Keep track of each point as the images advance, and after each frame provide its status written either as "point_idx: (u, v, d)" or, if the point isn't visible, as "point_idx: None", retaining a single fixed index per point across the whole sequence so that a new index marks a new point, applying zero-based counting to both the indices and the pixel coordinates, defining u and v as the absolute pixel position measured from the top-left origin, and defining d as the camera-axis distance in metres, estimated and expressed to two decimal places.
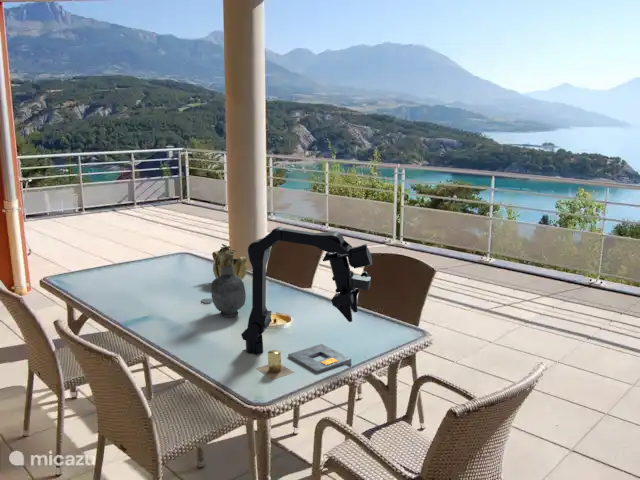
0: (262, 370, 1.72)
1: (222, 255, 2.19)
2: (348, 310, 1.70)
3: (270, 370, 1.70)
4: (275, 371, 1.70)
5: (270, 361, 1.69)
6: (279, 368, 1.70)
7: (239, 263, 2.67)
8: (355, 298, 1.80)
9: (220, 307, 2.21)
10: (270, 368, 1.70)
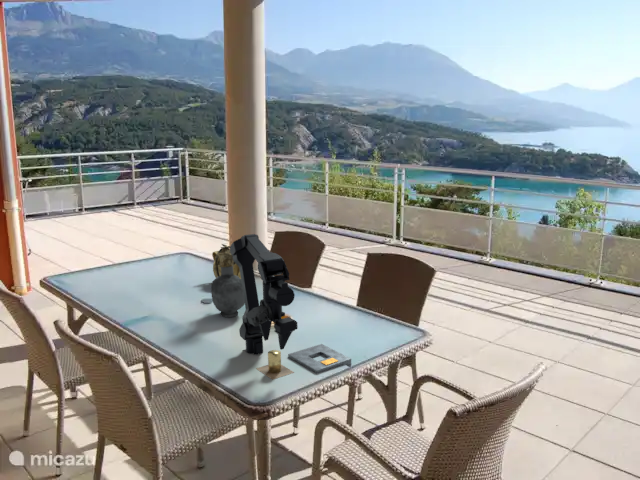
0: (262, 370, 1.72)
1: (222, 255, 2.19)
2: None
3: (270, 370, 1.70)
4: (275, 371, 1.70)
5: (270, 361, 1.69)
6: (279, 368, 1.70)
7: None
8: None
9: (220, 307, 2.21)
10: (270, 368, 1.70)
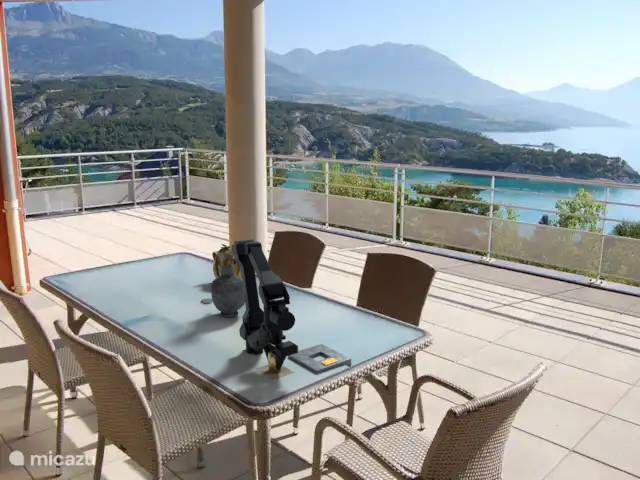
0: (262, 370, 1.72)
1: (222, 255, 2.19)
2: None
3: (270, 370, 1.70)
4: (275, 371, 1.70)
5: (270, 361, 1.69)
6: None
7: None
8: None
9: (220, 307, 2.21)
10: (270, 368, 1.70)
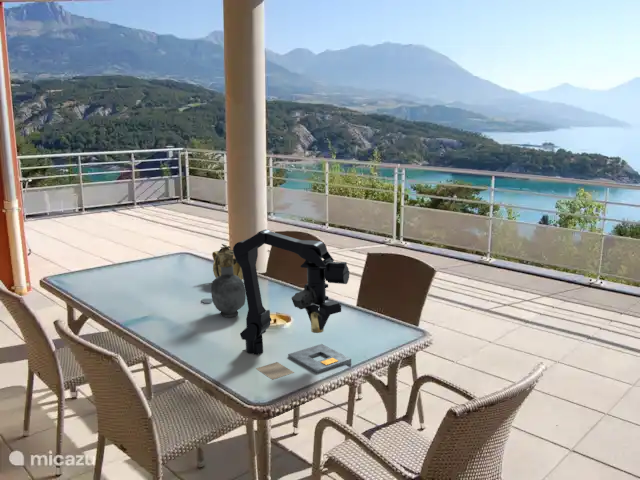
0: (262, 370, 1.72)
1: (222, 255, 2.19)
2: None
3: (313, 330, 1.75)
4: (318, 331, 1.75)
5: (313, 321, 1.75)
6: None
7: None
8: None
9: (220, 307, 2.21)
10: (313, 328, 1.75)
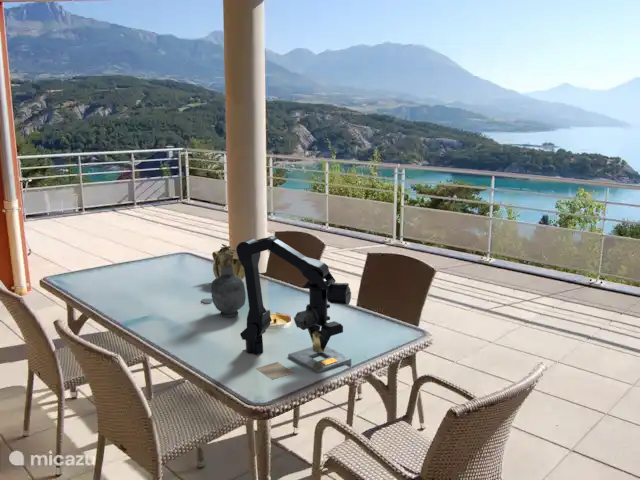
0: (262, 370, 1.72)
1: (222, 255, 2.19)
2: None
3: (315, 349, 1.77)
4: (319, 350, 1.77)
5: (315, 341, 1.76)
6: None
7: (239, 263, 2.67)
8: None
9: (220, 307, 2.21)
10: (315, 348, 1.77)
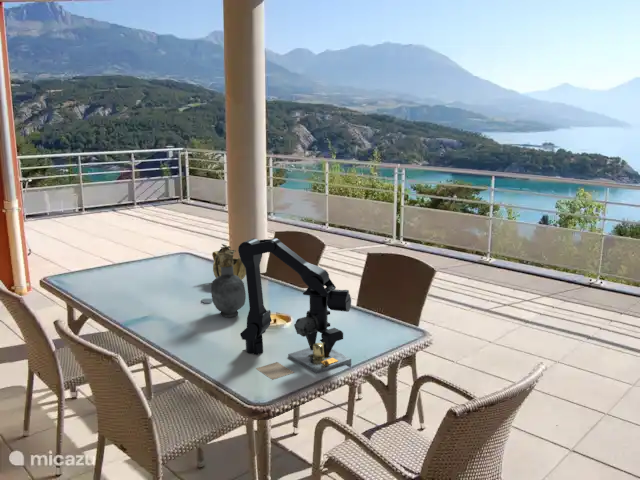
0: (262, 370, 1.72)
1: (222, 255, 2.19)
2: None
3: None
4: None
5: (315, 353, 1.77)
6: None
7: (239, 263, 2.67)
8: None
9: (220, 307, 2.21)
10: None
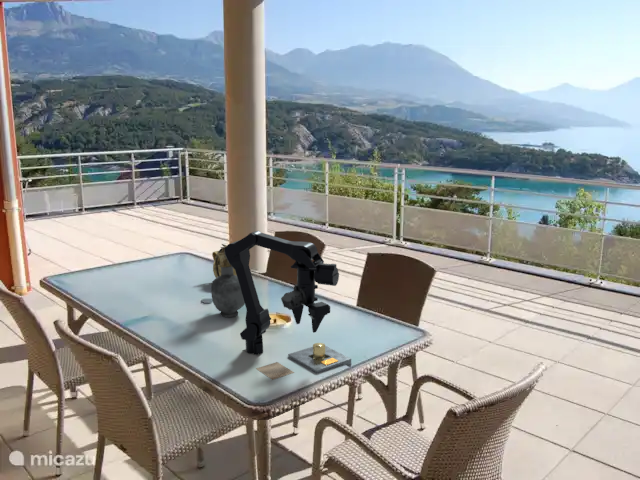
0: (262, 370, 1.72)
1: (222, 255, 2.19)
2: None
3: None
4: None
5: (315, 353, 1.77)
6: None
7: None
8: None
9: (220, 307, 2.21)
10: None
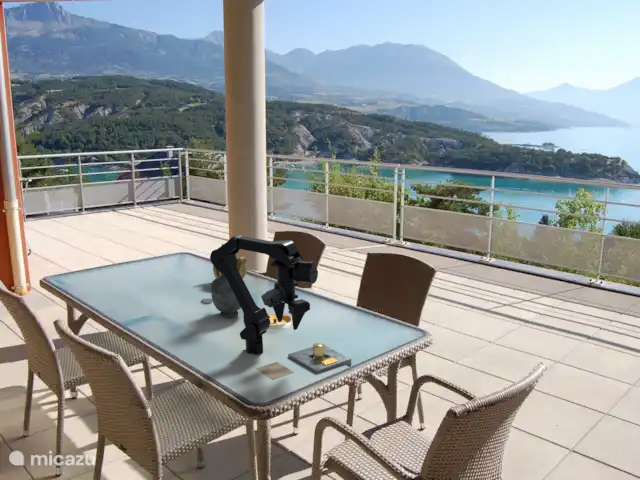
0: (262, 370, 1.72)
1: None
2: None
3: None
4: None
5: (315, 353, 1.77)
6: None
7: (239, 263, 2.67)
8: None
9: (220, 307, 2.21)
10: None
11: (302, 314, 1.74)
